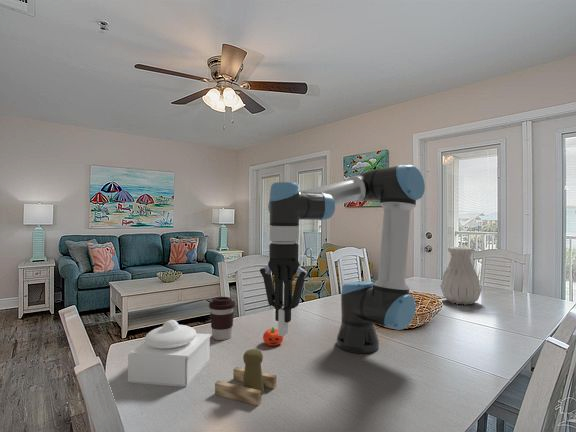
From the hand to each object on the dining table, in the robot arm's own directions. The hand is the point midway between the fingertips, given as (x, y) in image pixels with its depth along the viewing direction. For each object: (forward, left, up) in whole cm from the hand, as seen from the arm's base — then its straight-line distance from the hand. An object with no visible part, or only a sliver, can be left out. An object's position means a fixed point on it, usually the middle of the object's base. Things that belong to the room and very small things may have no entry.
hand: (283, 334), depth 87 cm
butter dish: (+37, -1, -17) cm, 41 cm away
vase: (-49, -128, -17) cm, 138 cm away
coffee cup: (+40, -31, -17) cm, 53 cm away
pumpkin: (+19, -33, -17) cm, 42 cm away
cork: (+9, 0, -17) cm, 19 cm away
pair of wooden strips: (+11, 0, -17) cm, 20 cm away
